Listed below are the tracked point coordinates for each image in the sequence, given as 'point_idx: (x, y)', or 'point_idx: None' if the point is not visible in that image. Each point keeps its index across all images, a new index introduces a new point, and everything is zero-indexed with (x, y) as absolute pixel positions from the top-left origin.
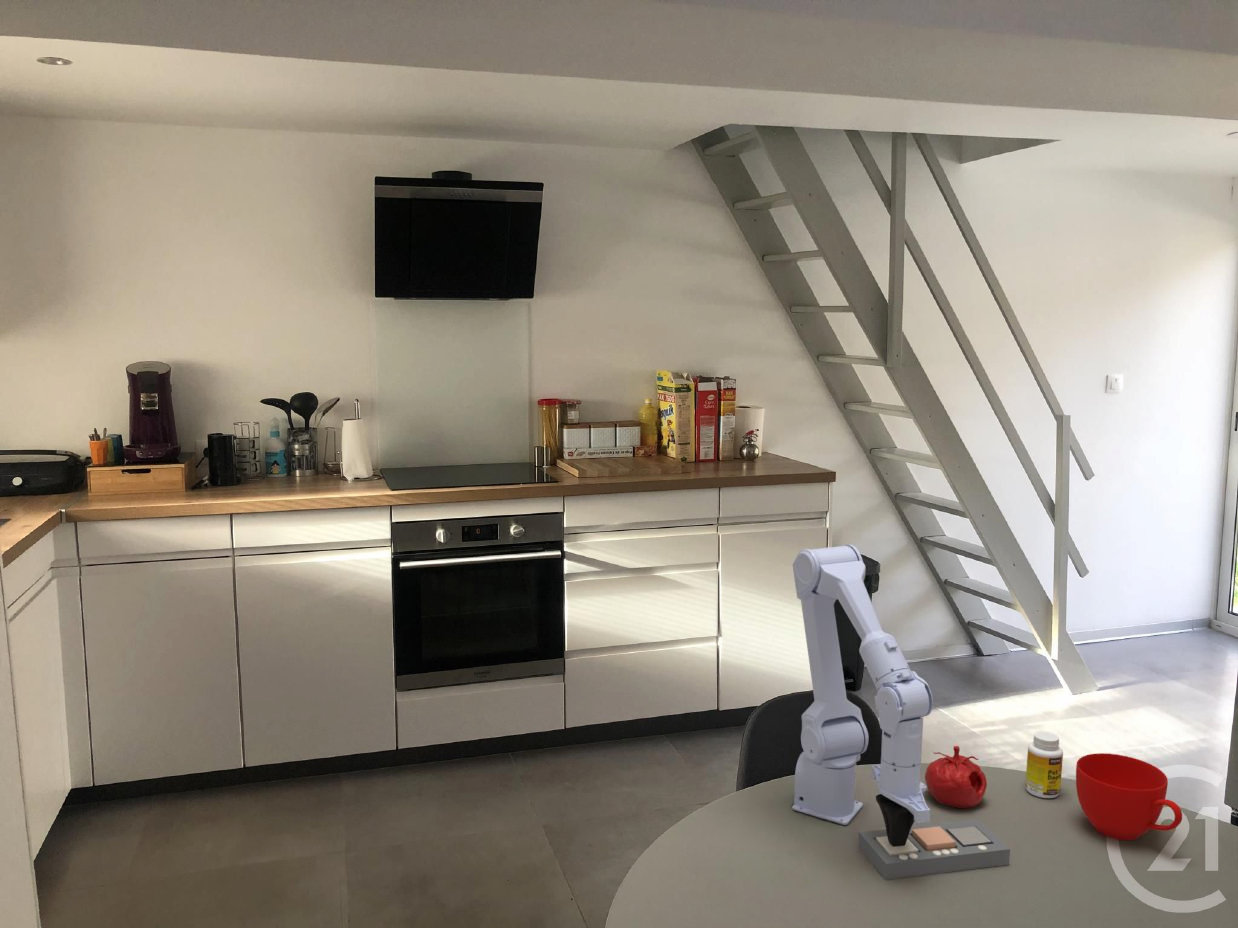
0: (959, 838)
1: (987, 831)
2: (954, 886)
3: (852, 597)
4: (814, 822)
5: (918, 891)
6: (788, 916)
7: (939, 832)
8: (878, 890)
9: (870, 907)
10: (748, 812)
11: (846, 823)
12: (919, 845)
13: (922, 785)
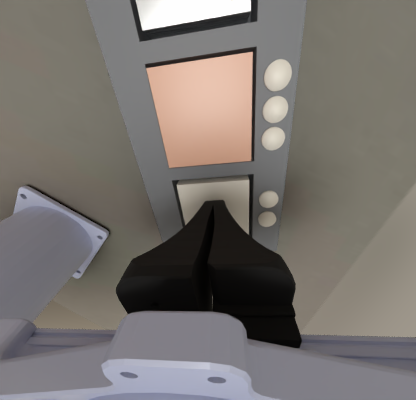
0: (206, 7)
1: None
2: (335, 117)
3: None
4: (108, 261)
5: (318, 195)
6: (302, 325)
7: (187, 89)
8: (292, 246)
9: (324, 266)
10: (100, 307)
11: (107, 232)
12: (225, 166)
13: (199, 377)
